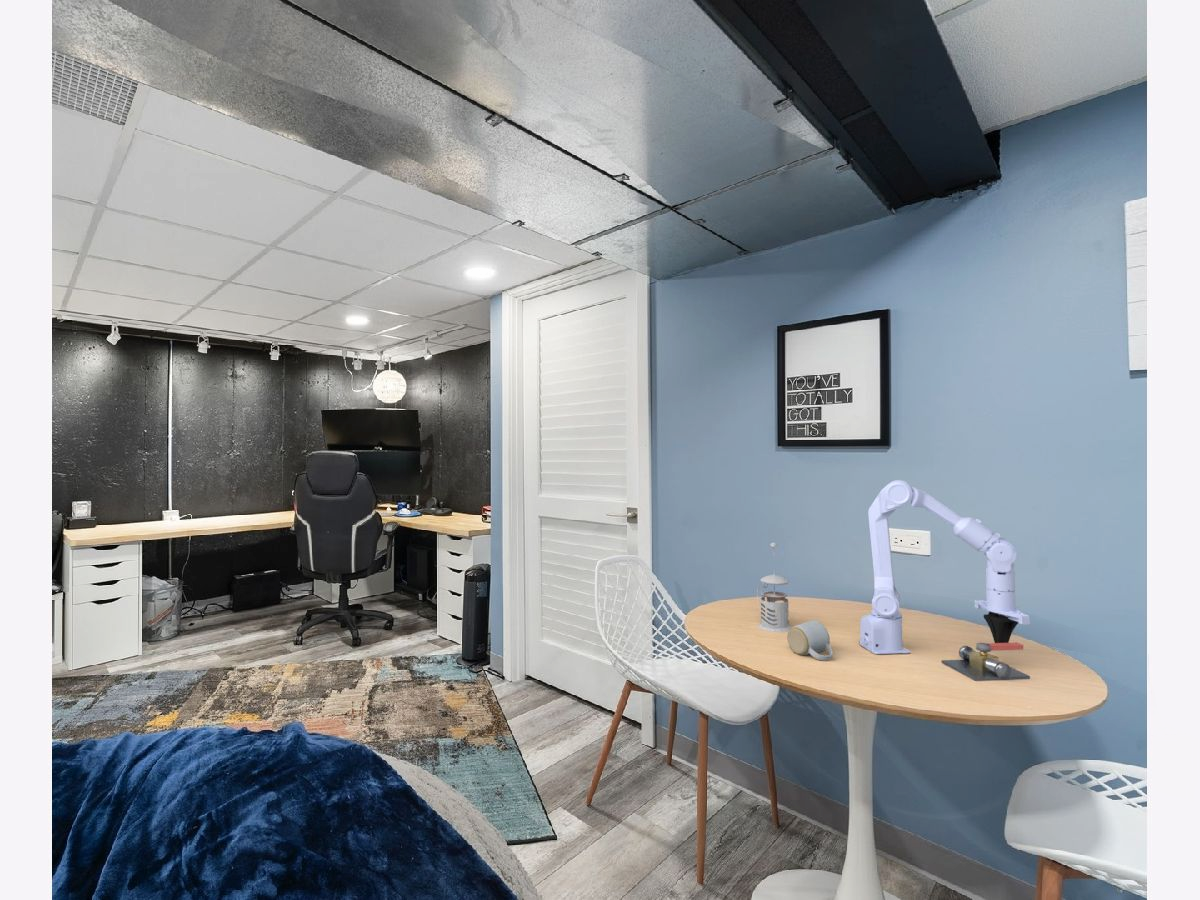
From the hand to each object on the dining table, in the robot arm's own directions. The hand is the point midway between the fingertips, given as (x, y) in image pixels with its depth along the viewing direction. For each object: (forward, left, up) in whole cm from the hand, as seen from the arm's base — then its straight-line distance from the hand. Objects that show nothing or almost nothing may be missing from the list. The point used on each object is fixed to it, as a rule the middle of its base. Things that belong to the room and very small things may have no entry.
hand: (1001, 646), depth 134 cm
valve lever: (-3, -3, 0) cm, 4 cm away
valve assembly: (-7, -3, -5) cm, 8 cm away
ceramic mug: (-41, +12, -5) cm, 43 cm away
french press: (-43, +35, -5) cm, 56 cm away
